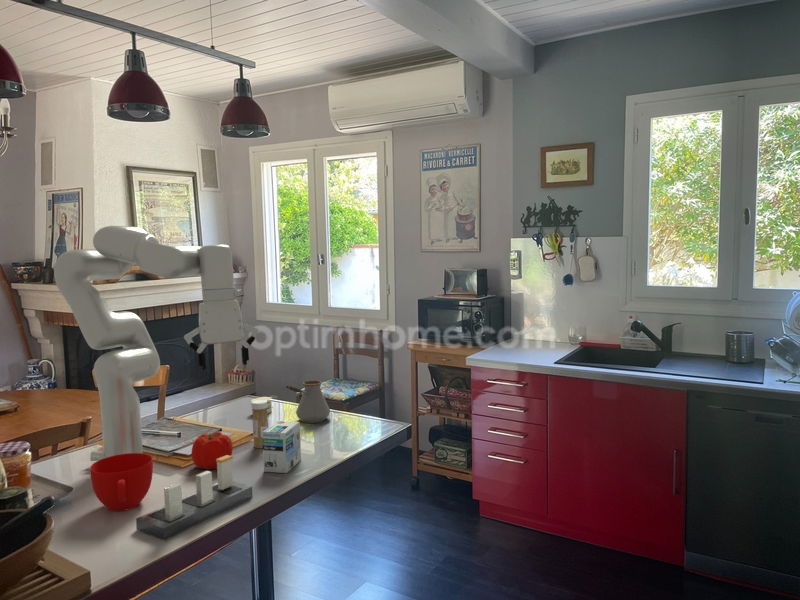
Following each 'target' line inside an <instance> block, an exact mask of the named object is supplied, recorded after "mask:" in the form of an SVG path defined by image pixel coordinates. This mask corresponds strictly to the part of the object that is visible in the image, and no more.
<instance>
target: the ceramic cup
mask: <svg viewBox="0 0 800 600" xmlns="http://www.w3.org/2000/svg"><path fill="white" fill-rule="evenodd" d="M153 468H154V459H153V457H152V455H150V454H147V453H144V452H143V453H128V454H120V455H115V456H110V457H107V458H104V459H101V460H99V461H94V462H93V463H92V464H91V465H90V467H89V473H90V474H89V475H90V480H91V484H92V490H93V492H94V495H95V497H96V498H97V499H98V501H99V502H100V503H101V504H102V505H103V506H105V507H106V508H107V509H108V510H109V511H111V512H123V511H124V512H125V511H128V510H131V509H134V508H136V507H138V506H139V505H140V504H141V502H142V501H143V499H144V498H145V497H146V495H148V492H149V490H150V488H151V485H152V484H151V483H152V480H153V473H154V469H153Z"/></svg>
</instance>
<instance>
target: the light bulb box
mask: <svg viewBox="0 0 800 600" xmlns="http://www.w3.org/2000/svg"><path fill="white" fill-rule="evenodd" d="M262 440H263V448H262V455H263V456H262V458H263V462H262V463H263V472H264V473H278V474H279V473H280V474H287V473H288V472H290V471H291V470H292V469H293V468H294V467H295V466H296V465H297V464H299V463H300V462H301V460H302V446H301V423H300V421H288V420H287V421H285V420H277V421H276V422H274V423H273V424H272V425H270V426H268V428H267V429H266V430H265V431H263V432H262Z"/></svg>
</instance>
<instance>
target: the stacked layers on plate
mask: <svg viewBox="0 0 800 600" xmlns="http://www.w3.org/2000/svg"><path fill="white" fill-rule="evenodd" d="M271 399H273V396H272V397H271V396H260V397H257V398H253V399H251V400H250V401H251V403H250V405H251V406H252V402H253V401H256V400H266V401H267V403H268V407H267V415H268V414H270V413H273V410H272V409H273V408H274V407H273V406H272V403H273V402H274V401H273V400H271ZM250 411H251V412H252V411H253V410H252V408H251V409H250Z"/></svg>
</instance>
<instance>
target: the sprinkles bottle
mask: <svg viewBox="0 0 800 600" xmlns="http://www.w3.org/2000/svg"><path fill="white" fill-rule="evenodd" d="M267 401H268V400H267ZM267 401H266V400H256V401H251V403H252V405H251V409H252V410H253V411H251V413H252V436H253V447H254V448H256V449H263V440H262V432H263V431H265V430H266V429H267V428H269V419H268V418H269V417H268V414H267V407H268V403H267Z"/></svg>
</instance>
